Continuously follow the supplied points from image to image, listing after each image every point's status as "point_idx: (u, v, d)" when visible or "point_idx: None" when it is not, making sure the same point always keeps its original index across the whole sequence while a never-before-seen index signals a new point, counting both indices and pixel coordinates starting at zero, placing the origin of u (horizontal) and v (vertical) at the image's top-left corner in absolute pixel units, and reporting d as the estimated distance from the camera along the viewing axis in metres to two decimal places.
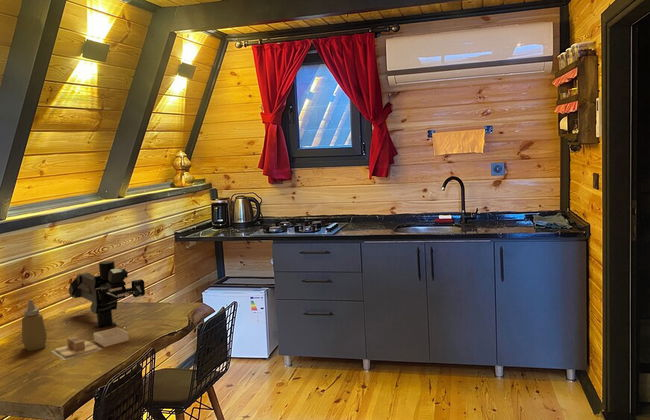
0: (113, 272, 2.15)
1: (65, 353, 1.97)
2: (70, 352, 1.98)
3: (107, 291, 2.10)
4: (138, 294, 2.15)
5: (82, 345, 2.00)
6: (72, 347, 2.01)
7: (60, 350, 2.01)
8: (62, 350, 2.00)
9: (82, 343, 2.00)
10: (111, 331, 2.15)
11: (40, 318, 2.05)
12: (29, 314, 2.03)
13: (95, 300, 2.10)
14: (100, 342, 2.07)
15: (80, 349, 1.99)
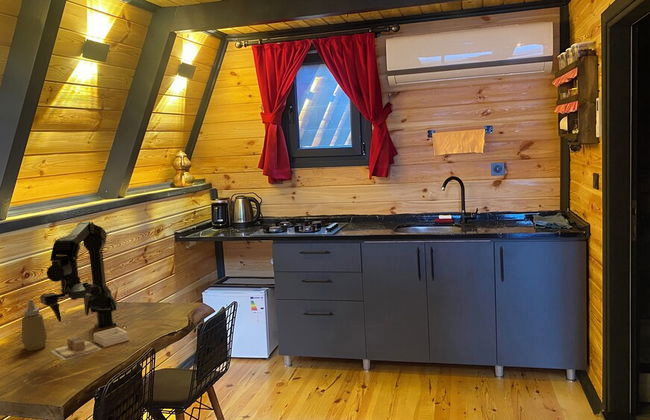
0: (74, 297, 1.93)
1: (65, 353, 1.97)
2: (70, 352, 1.98)
3: (56, 307, 1.95)
4: (85, 307, 2.05)
5: (82, 345, 2.00)
6: (72, 347, 2.01)
7: (60, 350, 2.01)
8: (62, 350, 2.00)
9: (82, 343, 2.00)
10: (111, 331, 2.15)
11: (40, 318, 2.05)
12: (29, 314, 2.03)
13: (41, 300, 1.95)
14: (100, 342, 2.07)
15: (80, 349, 1.99)
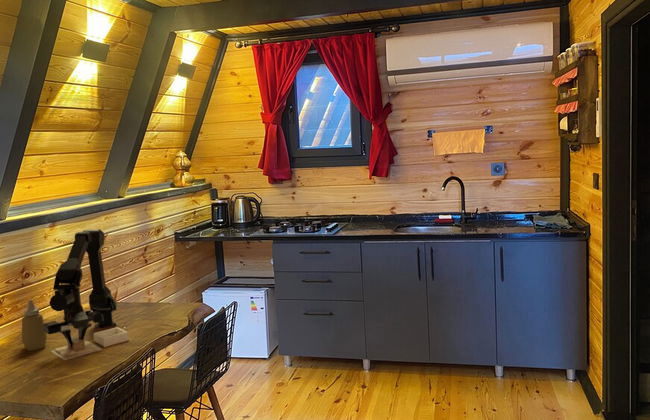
0: (77, 326, 1.95)
1: (65, 353, 1.97)
2: (70, 352, 1.98)
3: (68, 333, 1.98)
4: (79, 336, 2.04)
5: (82, 345, 2.00)
6: (72, 347, 2.01)
7: (60, 350, 2.01)
8: (63, 350, 2.00)
9: (82, 343, 2.00)
10: (111, 331, 2.15)
11: (40, 318, 2.05)
12: (29, 314, 2.03)
13: (44, 329, 1.96)
14: (100, 342, 2.07)
15: (80, 349, 1.99)
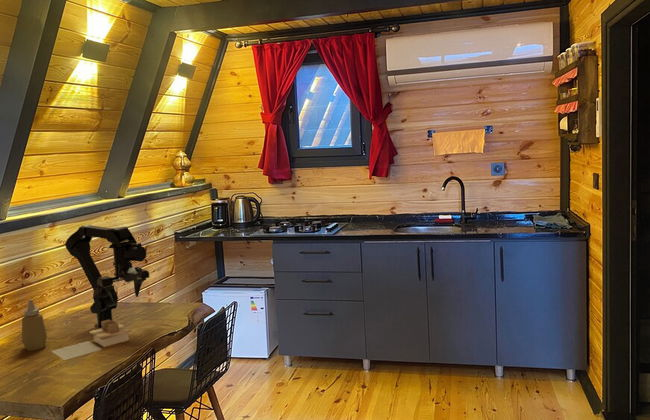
0: (128, 280, 2.15)
1: (100, 335, 2.05)
2: (105, 334, 2.06)
3: (111, 289, 2.17)
4: (135, 289, 2.27)
5: (116, 327, 2.08)
6: (106, 329, 2.09)
7: (95, 332, 2.09)
8: (97, 332, 2.08)
9: (116, 326, 2.08)
10: None
11: (40, 318, 2.05)
12: (29, 314, 2.03)
13: (98, 282, 2.17)
14: (100, 342, 2.07)
15: (114, 331, 2.08)
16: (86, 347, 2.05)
